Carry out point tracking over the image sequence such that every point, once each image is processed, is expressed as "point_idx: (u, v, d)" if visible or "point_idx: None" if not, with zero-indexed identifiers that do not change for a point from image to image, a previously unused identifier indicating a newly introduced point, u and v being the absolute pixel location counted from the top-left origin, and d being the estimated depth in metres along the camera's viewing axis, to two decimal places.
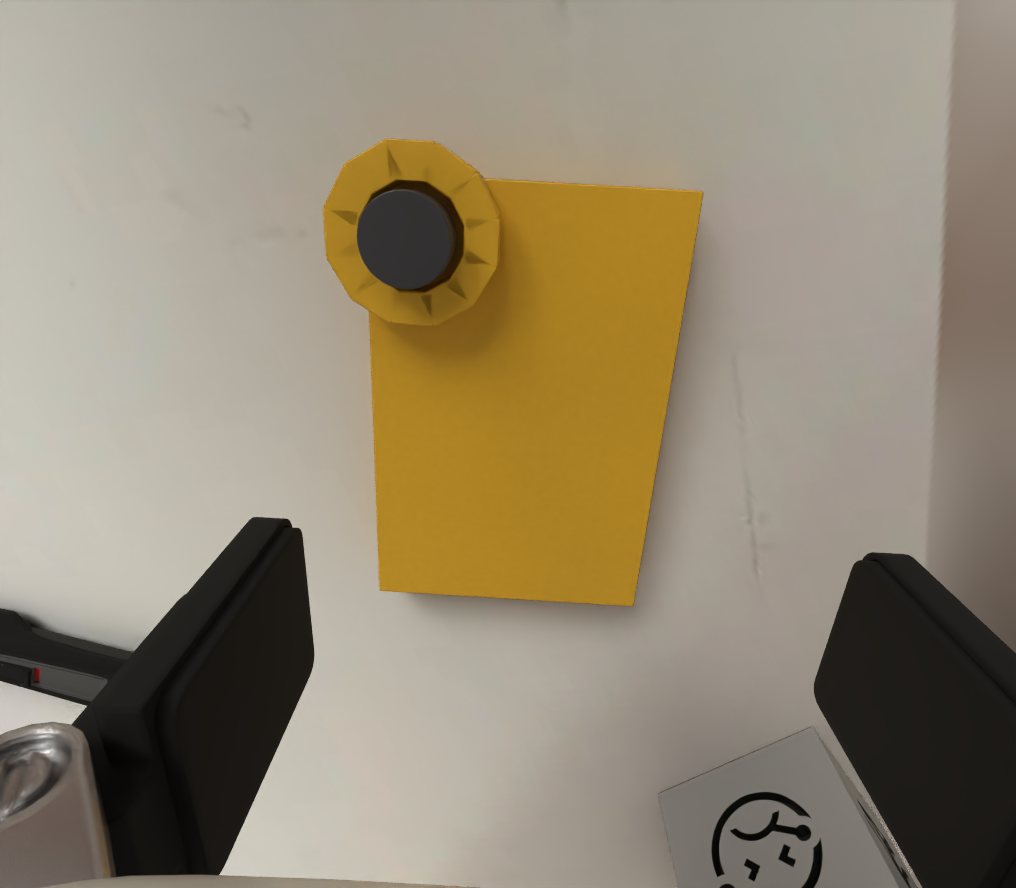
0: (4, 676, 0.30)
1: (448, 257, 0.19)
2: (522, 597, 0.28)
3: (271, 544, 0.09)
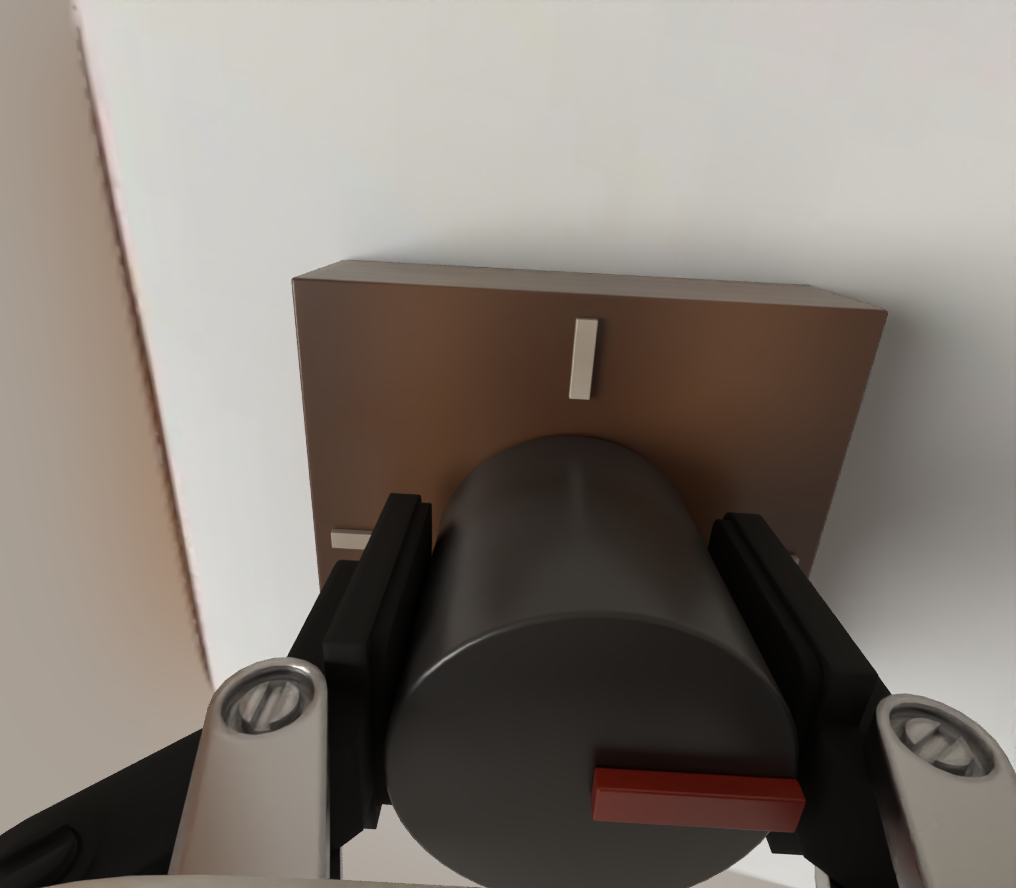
0: None
1: None
2: None
3: (414, 516, 0.10)
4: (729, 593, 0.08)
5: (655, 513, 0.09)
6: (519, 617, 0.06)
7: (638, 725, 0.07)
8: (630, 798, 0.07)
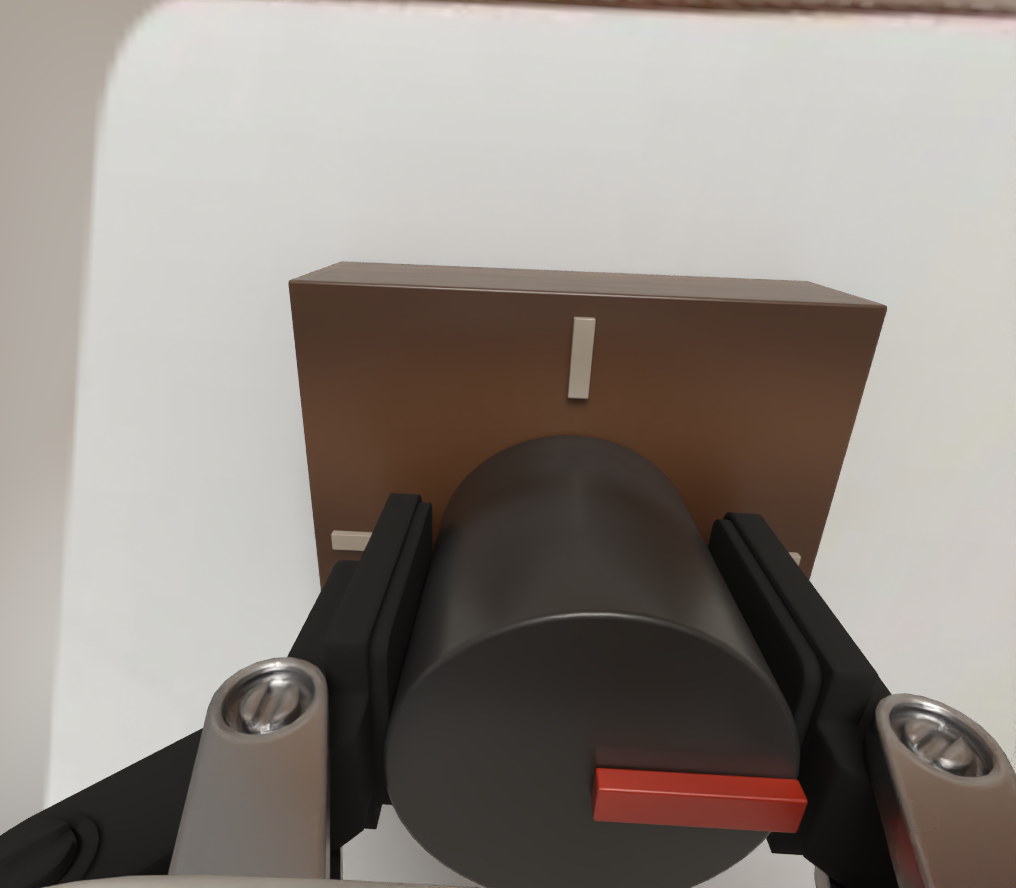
0: None
1: None
2: None
3: (414, 516, 0.10)
4: (730, 593, 0.08)
5: (655, 512, 0.09)
6: (520, 617, 0.06)
7: (639, 725, 0.07)
8: (631, 799, 0.07)
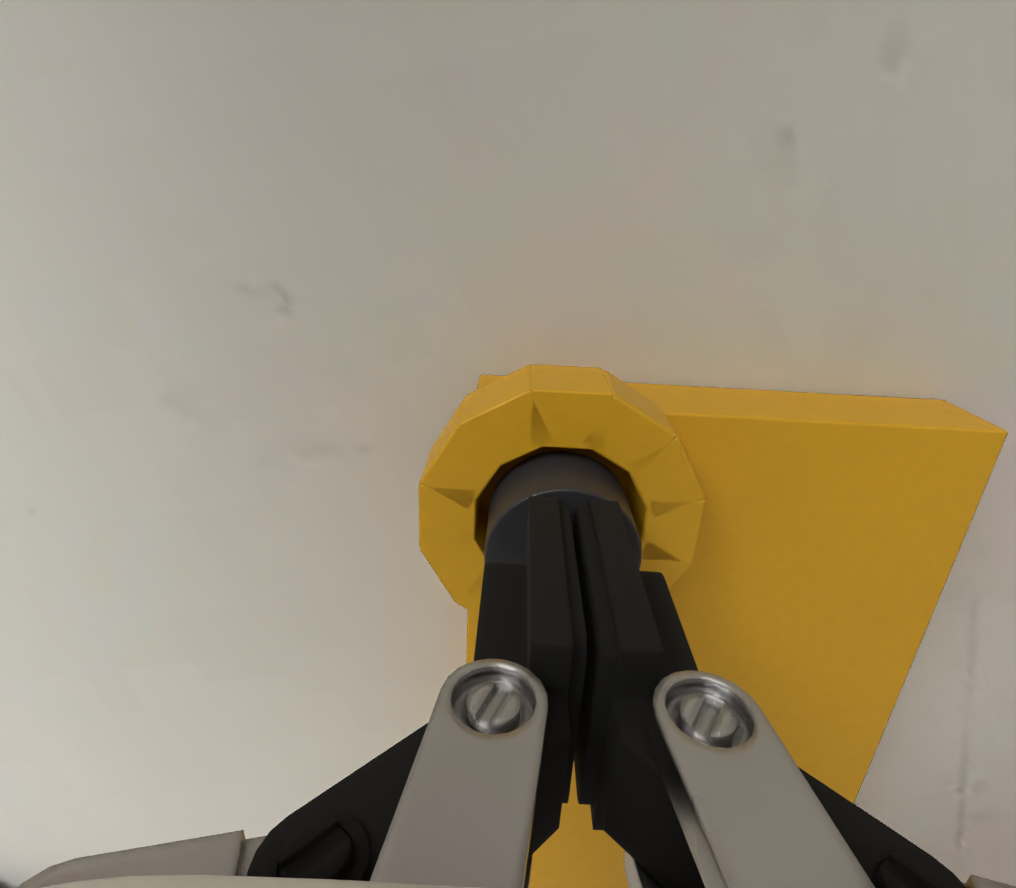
0: None
1: None
2: None
3: None
4: None
5: None
6: None
7: None
8: None
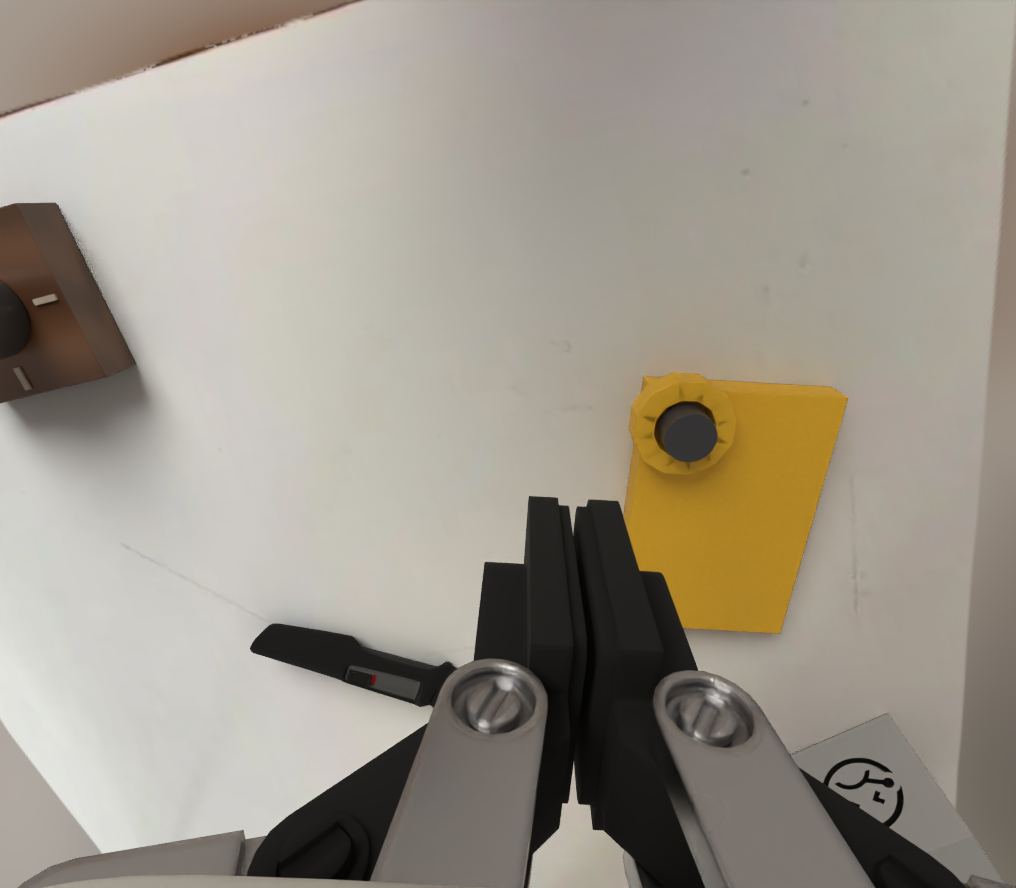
0: (353, 680, 0.45)
1: (714, 446, 0.34)
2: (708, 628, 0.42)
3: (559, 519, 0.10)
4: None
5: None
6: None
7: None
8: None
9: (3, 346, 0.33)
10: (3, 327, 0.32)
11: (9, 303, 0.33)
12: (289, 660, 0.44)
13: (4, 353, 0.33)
